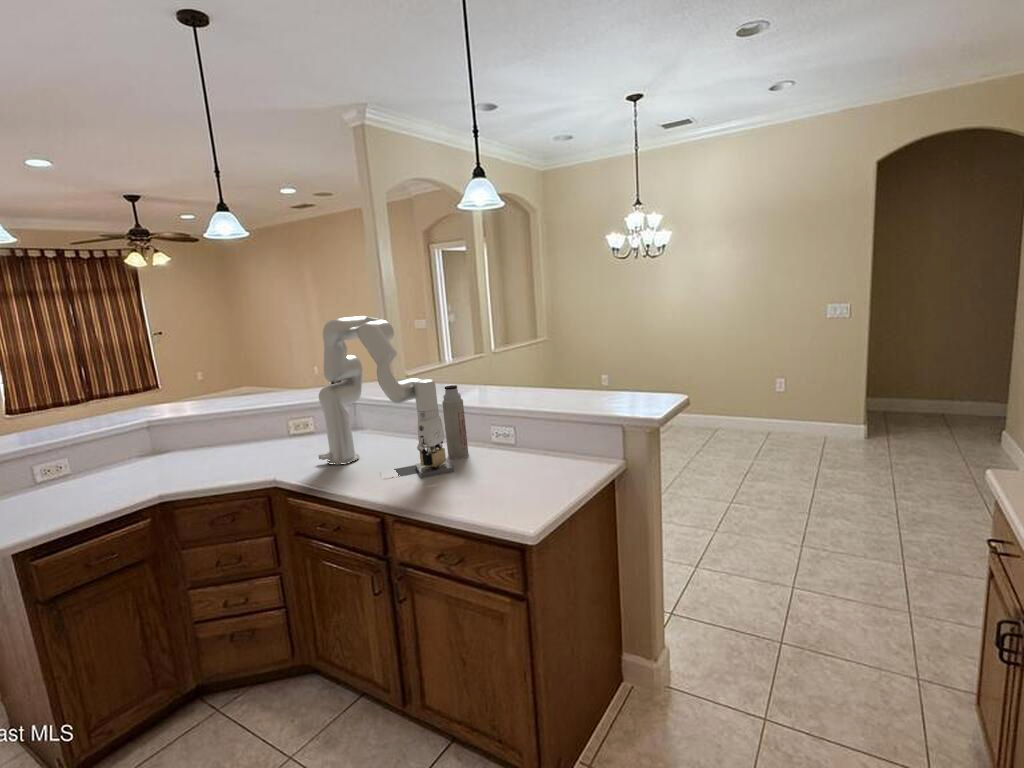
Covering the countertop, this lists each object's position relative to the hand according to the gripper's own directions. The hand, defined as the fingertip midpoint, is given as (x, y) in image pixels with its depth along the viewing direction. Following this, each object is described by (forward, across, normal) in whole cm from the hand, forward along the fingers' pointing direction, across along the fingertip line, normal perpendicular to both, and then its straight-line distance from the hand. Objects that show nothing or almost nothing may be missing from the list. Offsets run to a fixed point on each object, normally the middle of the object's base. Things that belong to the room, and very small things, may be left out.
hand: (433, 461), depth 193 cm
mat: (+4, -5, +12) cm, 13 cm away
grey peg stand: (+4, 0, 0) cm, 4 cm away
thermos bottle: (+4, +18, 0) cm, 18 cm away
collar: (+1, 0, 0) cm, 1 cm away
